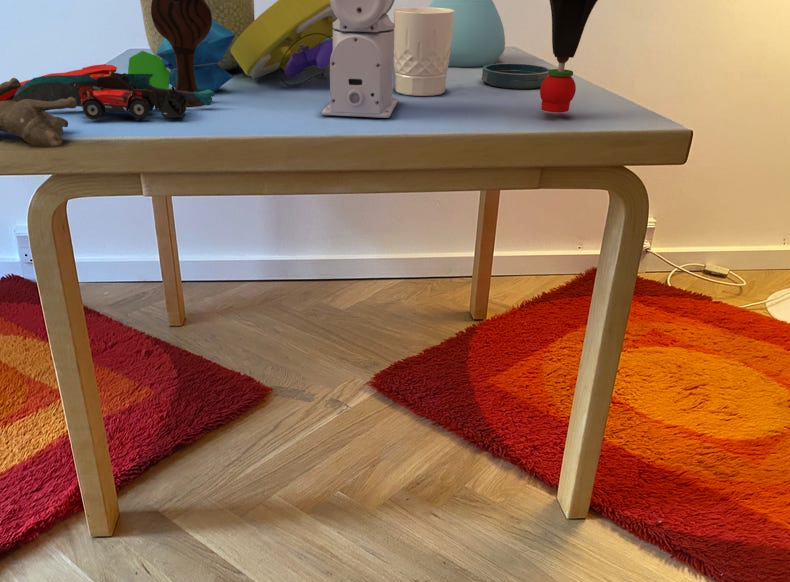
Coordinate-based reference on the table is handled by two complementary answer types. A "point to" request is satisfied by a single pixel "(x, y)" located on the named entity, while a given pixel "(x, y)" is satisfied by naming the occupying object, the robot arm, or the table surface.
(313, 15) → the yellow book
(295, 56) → the game controller
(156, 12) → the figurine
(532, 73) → the dish
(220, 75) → the crystal
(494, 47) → the sugar bowl
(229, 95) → the table surface
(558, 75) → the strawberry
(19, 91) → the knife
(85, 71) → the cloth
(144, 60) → the gemstone
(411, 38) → the white cup
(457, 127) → the table surface
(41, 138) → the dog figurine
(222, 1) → the planter
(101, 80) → the loader
